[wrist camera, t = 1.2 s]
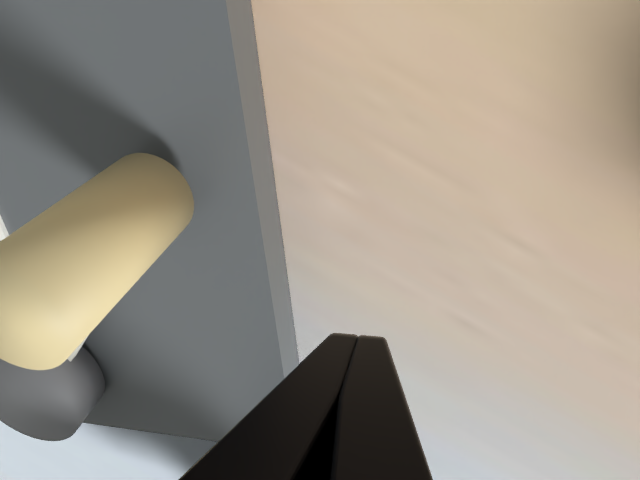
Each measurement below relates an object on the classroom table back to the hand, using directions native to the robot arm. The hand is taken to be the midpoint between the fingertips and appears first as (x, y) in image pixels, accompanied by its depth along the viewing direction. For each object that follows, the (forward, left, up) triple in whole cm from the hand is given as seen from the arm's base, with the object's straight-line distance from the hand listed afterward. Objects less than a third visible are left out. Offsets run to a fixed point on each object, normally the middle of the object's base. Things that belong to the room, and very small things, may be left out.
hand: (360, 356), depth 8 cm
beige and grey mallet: (-6, +12, -9) cm, 16 cm away
